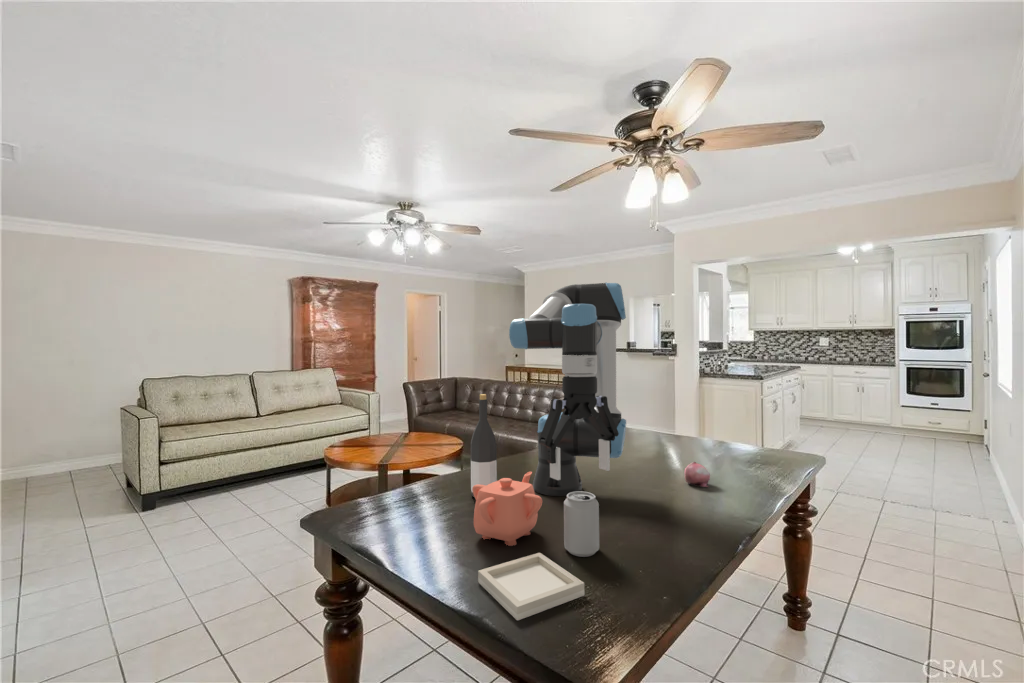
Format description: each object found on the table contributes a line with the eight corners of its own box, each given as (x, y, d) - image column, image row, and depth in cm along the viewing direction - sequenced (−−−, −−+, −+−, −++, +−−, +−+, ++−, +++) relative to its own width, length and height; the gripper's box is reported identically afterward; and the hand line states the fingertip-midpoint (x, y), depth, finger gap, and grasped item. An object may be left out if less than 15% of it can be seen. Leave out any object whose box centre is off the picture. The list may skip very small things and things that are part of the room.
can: (599, 559, 93) (598, 501, 94) (562, 557, 95) (562, 499, 95) (599, 544, 101) (598, 490, 101) (565, 541, 102) (565, 488, 102)
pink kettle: (480, 554, 97) (479, 492, 97) (467, 525, 112) (467, 472, 112) (553, 544, 101) (553, 485, 101) (531, 518, 116) (531, 467, 117)
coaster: (478, 582, 85) (478, 570, 85) (539, 563, 92) (539, 552, 92) (517, 620, 73) (517, 606, 73) (584, 595, 80) (584, 582, 80)
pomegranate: (685, 483, 147) (689, 461, 149) (711, 490, 143) (714, 467, 144) (680, 481, 141) (683, 458, 142) (706, 488, 136) (710, 464, 138)
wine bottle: (477, 501, 130) (476, 396, 130) (465, 493, 136) (465, 394, 137) (502, 496, 134) (501, 394, 134) (489, 489, 141) (488, 392, 141)
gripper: (542, 378, 89) (543, 487, 88) (633, 374, 101) (635, 469, 101) (521, 376, 95) (522, 478, 95) (610, 373, 108) (611, 462, 107)
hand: (580, 473), depth 98 cm, fingers open, 13 cm apart
